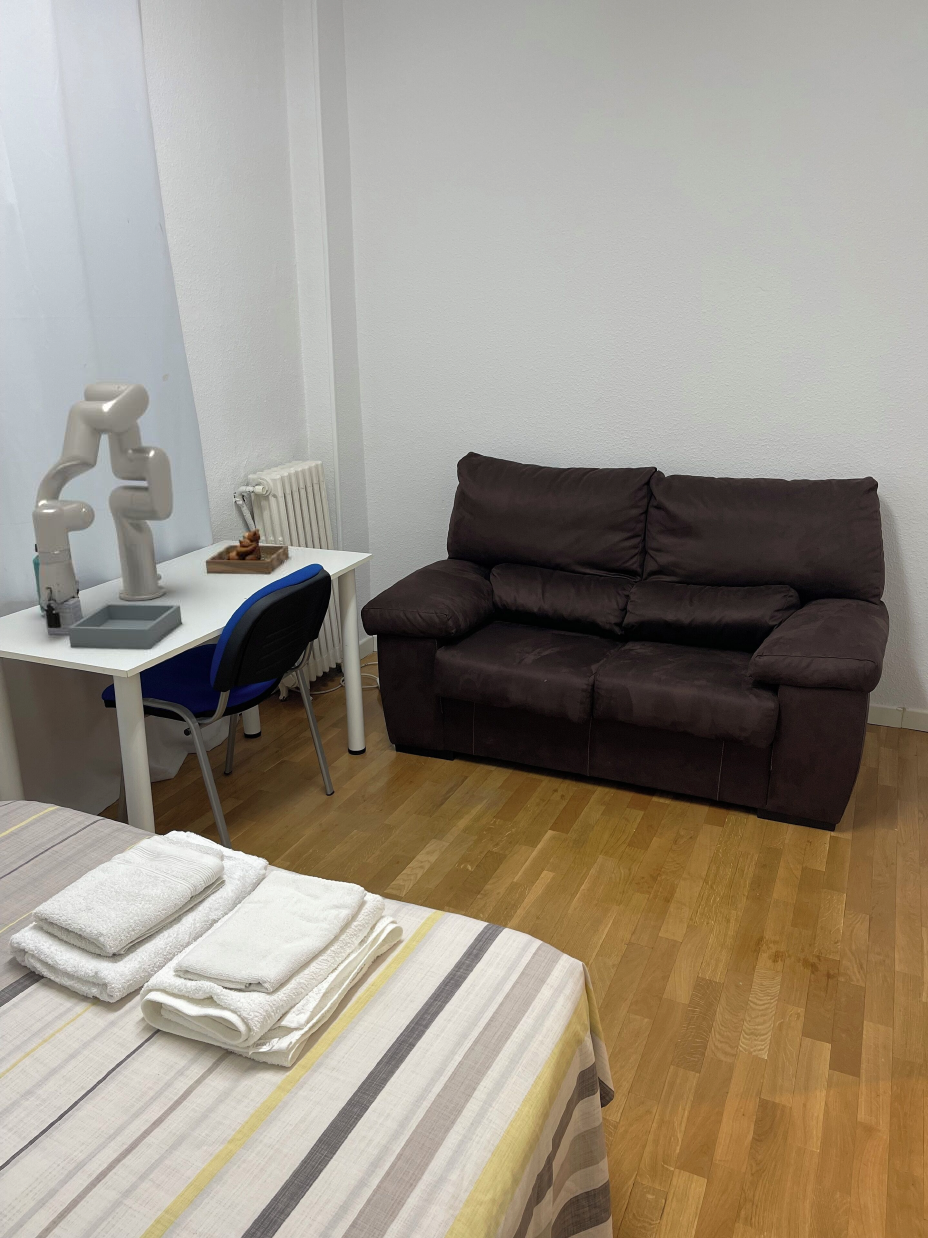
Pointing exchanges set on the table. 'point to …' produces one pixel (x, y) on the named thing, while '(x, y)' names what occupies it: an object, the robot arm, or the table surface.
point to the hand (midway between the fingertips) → (64, 621)
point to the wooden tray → (223, 566)
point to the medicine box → (66, 616)
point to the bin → (125, 626)
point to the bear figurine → (248, 548)
